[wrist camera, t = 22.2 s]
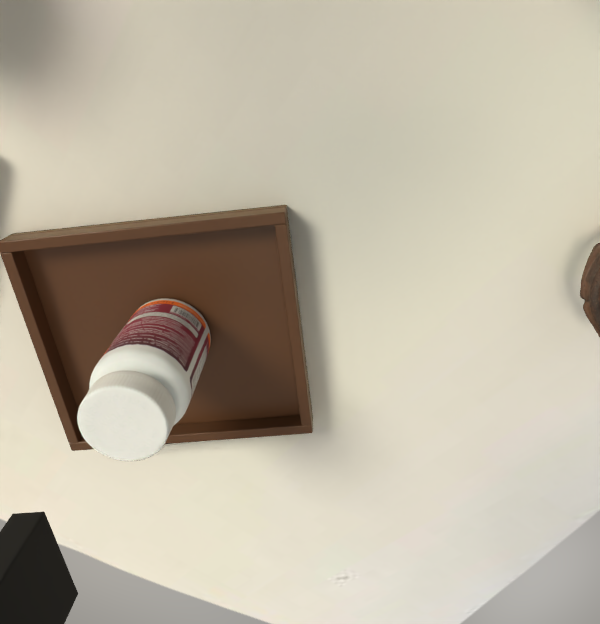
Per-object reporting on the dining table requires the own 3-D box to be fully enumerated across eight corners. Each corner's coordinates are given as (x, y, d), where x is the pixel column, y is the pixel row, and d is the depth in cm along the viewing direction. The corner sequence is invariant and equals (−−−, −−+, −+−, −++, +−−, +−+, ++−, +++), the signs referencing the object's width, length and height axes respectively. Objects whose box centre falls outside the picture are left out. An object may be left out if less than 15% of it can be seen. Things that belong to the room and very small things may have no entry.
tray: (12, 233, 37) (-5, 242, 35) (286, 204, 36) (284, 212, 34) (81, 434, 44) (71, 451, 42) (312, 417, 43) (312, 433, 41)
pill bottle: (119, 304, 39) (47, 388, 28) (199, 288, 38) (155, 369, 28) (146, 375, 41) (90, 476, 31) (222, 361, 40) (190, 460, 30)
